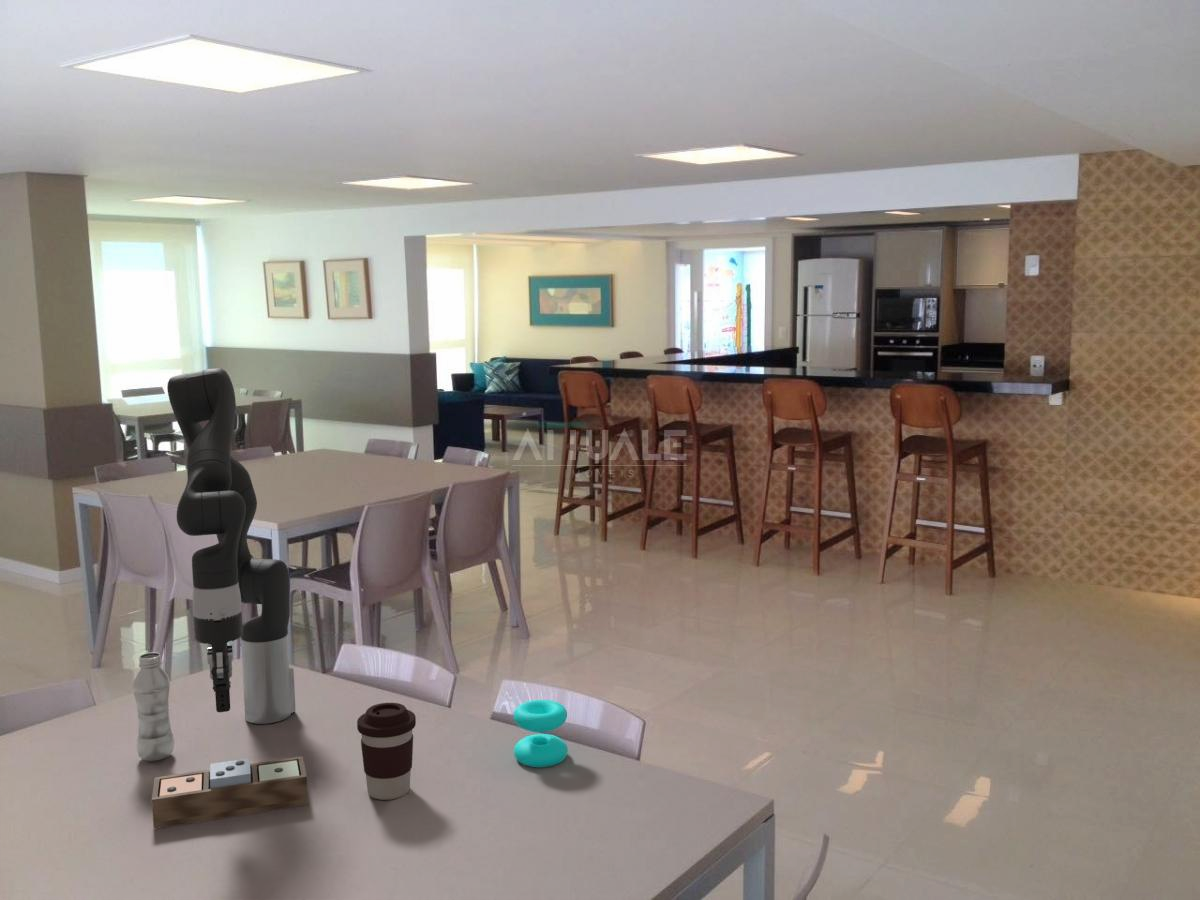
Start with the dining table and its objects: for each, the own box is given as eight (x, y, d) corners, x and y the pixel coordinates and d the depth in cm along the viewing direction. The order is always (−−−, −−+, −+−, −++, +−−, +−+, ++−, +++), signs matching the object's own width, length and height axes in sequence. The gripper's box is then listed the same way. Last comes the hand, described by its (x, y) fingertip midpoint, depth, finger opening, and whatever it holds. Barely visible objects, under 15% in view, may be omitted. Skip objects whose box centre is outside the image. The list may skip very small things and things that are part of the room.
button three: (250, 774, 181) (249, 757, 180) (251, 790, 175) (250, 772, 174) (211, 780, 179) (210, 762, 178) (210, 796, 173) (209, 778, 172)
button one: (297, 776, 184) (296, 759, 183) (300, 792, 178) (299, 774, 177) (259, 782, 182) (258, 764, 181) (260, 798, 176) (259, 780, 175)
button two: (202, 790, 178) (201, 772, 178) (202, 807, 172) (201, 788, 172) (162, 796, 176) (161, 778, 176) (160, 813, 170) (159, 795, 170)
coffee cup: (428, 785, 184) (426, 703, 182) (395, 809, 175) (392, 724, 173) (382, 774, 189) (380, 695, 186) (348, 798, 180) (344, 714, 178)
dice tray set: (303, 783, 185) (302, 756, 185) (307, 804, 177) (306, 776, 177) (156, 805, 177) (154, 777, 177) (153, 828, 169) (151, 799, 169)
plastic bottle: (181, 751, 199) (175, 650, 196) (163, 766, 192) (156, 662, 190) (149, 749, 200) (143, 649, 197) (130, 765, 193) (123, 661, 190)
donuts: (575, 701, 197) (553, 720, 187) (575, 751, 198) (554, 773, 189) (527, 694, 200) (504, 713, 191) (528, 744, 202) (504, 764, 192)
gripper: (194, 602, 178) (200, 699, 180) (191, 624, 165) (198, 728, 168) (241, 597, 180) (246, 693, 182) (241, 619, 168) (247, 722, 170)
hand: (223, 710), depth 175 cm, fingers closed
